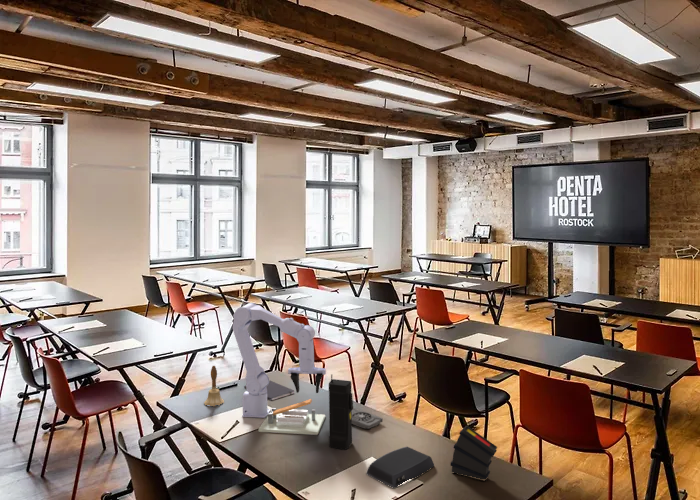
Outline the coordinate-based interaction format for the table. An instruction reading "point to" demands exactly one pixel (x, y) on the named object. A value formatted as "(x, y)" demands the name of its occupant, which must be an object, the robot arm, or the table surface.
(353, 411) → the graphics card
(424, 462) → the external hard drive
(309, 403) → the strap
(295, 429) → the heatsink board
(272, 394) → the notebook
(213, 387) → the hand bell
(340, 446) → the portable radio
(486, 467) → the magazine
